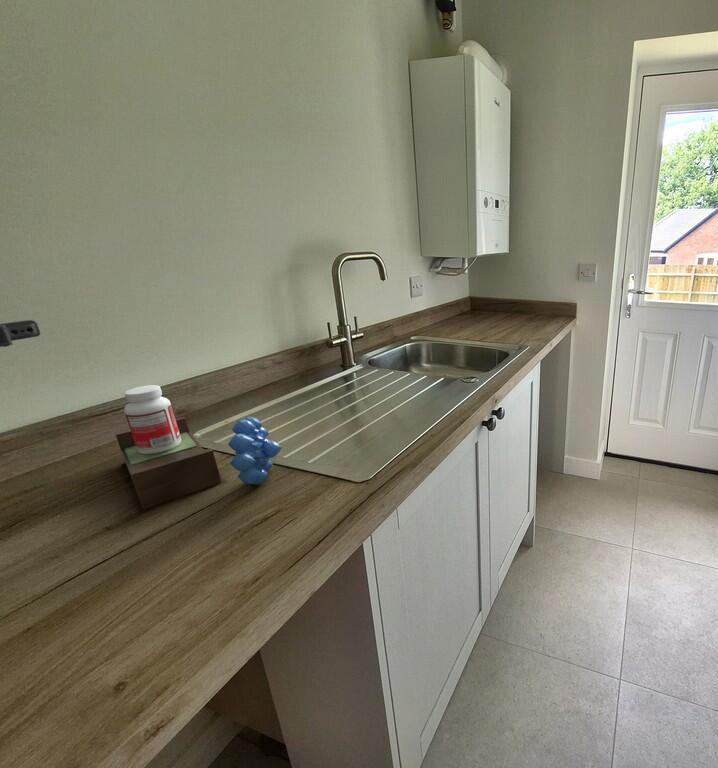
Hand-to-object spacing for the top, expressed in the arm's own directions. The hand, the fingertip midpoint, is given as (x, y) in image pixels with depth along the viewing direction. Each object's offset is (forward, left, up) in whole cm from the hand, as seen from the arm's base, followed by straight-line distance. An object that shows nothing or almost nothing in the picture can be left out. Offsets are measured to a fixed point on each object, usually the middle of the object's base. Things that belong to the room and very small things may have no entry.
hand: (10, 327), depth 56 cm
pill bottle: (+11, +3, -24) cm, 27 cm away
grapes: (+21, -18, -27) cm, 39 cm away
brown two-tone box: (+11, -2, -27) cm, 29 cm away
